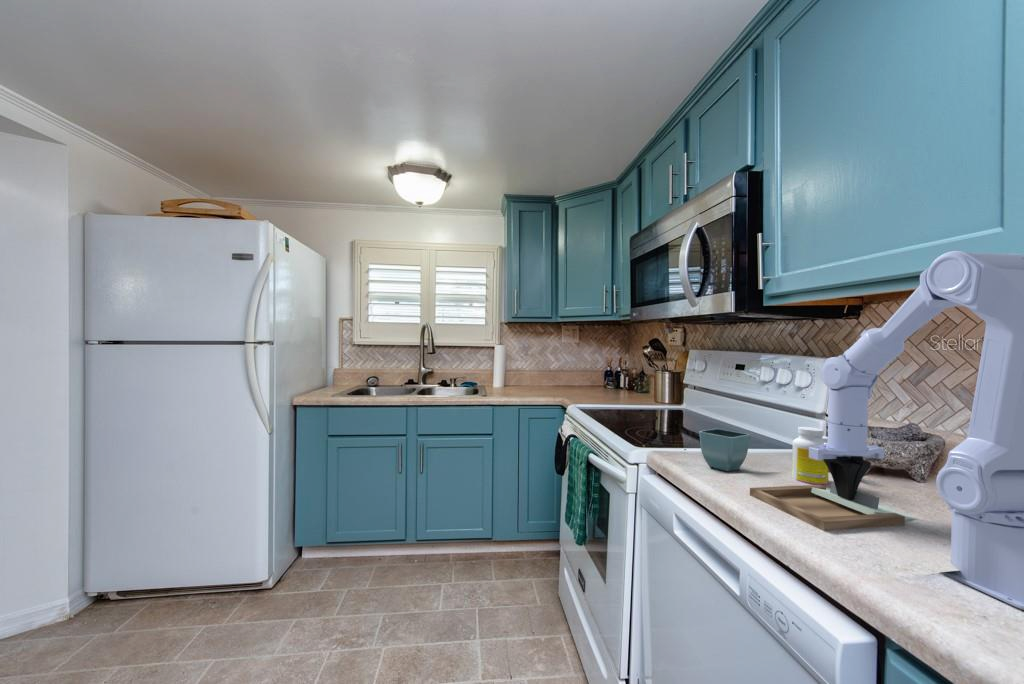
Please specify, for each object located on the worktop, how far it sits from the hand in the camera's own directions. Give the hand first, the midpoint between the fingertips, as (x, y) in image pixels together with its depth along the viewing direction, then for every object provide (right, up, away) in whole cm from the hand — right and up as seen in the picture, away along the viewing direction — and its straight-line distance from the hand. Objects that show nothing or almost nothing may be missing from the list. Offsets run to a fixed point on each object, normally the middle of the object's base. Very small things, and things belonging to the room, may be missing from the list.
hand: (845, 497), depth 78 cm
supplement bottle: (+5, -4, +16) cm, 17 cm away
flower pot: (-8, -3, +29) cm, 30 cm away
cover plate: (+4, -2, +1) cm, 5 cm away
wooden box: (-5, -3, -1) cm, 6 cm away
